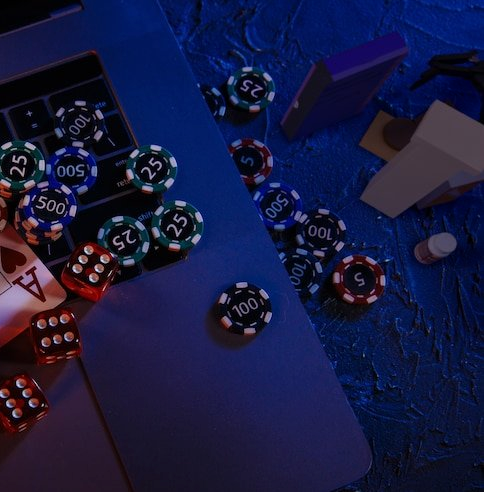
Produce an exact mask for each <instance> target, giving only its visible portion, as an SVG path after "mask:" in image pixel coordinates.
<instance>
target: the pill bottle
mask: <svg viewBox="0 0 484 492" xmlns="http://www.w3.org/2000/svg"><path fill="white" fill-rule="evenodd" d="M457 245H458V242H457V239H456V237H455V236H454V235H453V234H452V233H449V232H441V233H436V234H432V235H430V237H428V238H426V239H424V240H423V241H421V242H419V243H418V244H416V246H415V248H414V257H415V258H416V259H417V261H419V263H421V264H424V265H432V264H433V263H436V262H438V261H440V260H442V259H444V258H446V257H448V256H449V255H451V253H452V252H453V251H455V250H456V248H457Z"/></svg>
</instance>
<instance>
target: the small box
mask: <svg viewBox="0 0 484 492" xmlns="http://www.w3.org/2000/svg"><path fill="white" fill-rule="evenodd" d="M483 182H484V170H483V172H482V173H480V174H479V175H477V176H476V177H474V176H472V175H471V174H469V173H467V172H465V171H464V170H461V171H459V172H458V173H456V174H455V175H454V176H452V177H451V178H449V179H448V180H447V181H445V182H444V183H442V184H441V185H440V186H438V187H437V188H435V189H434V190H433V191H431V192H430V193H428V194H427V195H426V196H424V197H423V198H421V199H420V200H419V201H417V202H416V203H415V204H416V207H417V210H423V209H426V208H429V207H434V206H437V205H441V204H445V203H450V202H453V201H455V200H456V199H457V198H459V197H461V196H462V195H464V194H466V193H467V192H469V191H471V190H472V189H473V188H475V187H477V186H479V185H480V184H482V183H483Z"/></svg>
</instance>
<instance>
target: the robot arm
mask: <svg viewBox="0 0 484 492" xmlns="http://www.w3.org/2000/svg"><path fill="white" fill-rule="evenodd" d="M478 54H479V51H478V49H473V50H470V51H468V52H458V53H456V52H455V53H444V54H434V55H433V56H432V57H431V58H430V59H429V60H428V62H427V65H428V66H429V68H427V69H425V70H424V71H423V72H422V73H421V74H420V75H419V78H420V79H418V80H416V81H414V82H413V83H412V84H411V85H410V87H409V88H408V90H409V92H413V91H415V90H416V89H418V88H420V87H422V86H423V85H425V84H427V83H428V82H431V80H433V79H435V78H436V77H437V76H439V75H440V76H446V77H447V76H448V77H454V78H459V79H462V80H465V81H469V84H470V85H471V86H472V87H473V88H475V91H476V92H477V93H478V94H481V105H480V111H479V114H478V115H479V116H478V119H477V120H476V121H477V122H479V123H481V124H482V125H484V60H480V58H479V57H478ZM463 64H466V65H469V66H465V65H463ZM470 64H472V65H470Z"/></svg>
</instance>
